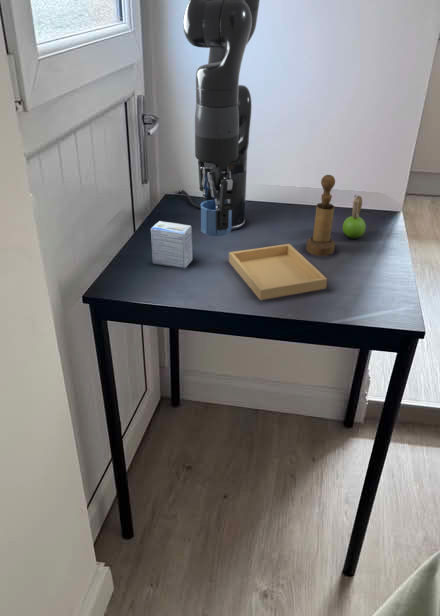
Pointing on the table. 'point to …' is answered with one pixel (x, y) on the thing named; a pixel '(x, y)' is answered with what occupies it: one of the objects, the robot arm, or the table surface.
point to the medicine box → (171, 244)
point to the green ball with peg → (354, 221)
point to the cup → (212, 219)
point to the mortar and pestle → (323, 222)
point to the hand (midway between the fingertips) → (216, 222)
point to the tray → (276, 271)
